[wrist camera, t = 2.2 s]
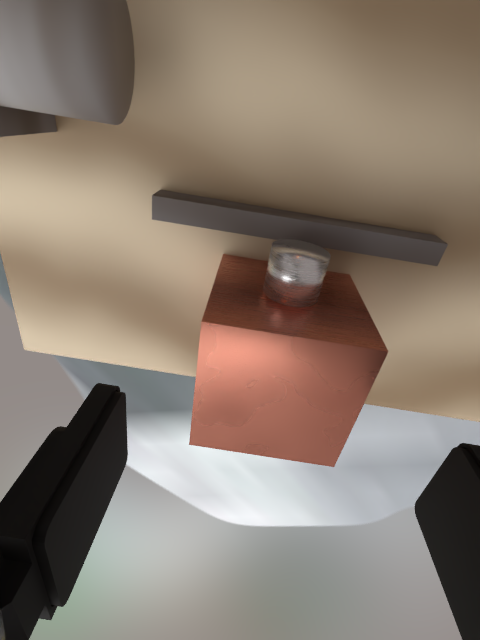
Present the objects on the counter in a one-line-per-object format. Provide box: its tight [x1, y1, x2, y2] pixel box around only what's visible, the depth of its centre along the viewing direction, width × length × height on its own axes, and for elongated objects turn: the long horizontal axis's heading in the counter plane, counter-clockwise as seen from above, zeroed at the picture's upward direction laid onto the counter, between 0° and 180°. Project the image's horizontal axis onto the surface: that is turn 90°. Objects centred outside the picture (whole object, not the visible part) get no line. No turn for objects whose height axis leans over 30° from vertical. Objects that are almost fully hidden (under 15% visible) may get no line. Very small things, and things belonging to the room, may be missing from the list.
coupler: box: [189, 239, 388, 467], centre depth 12 cm, size 5×8×5 cm, turn 172°
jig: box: [0, 0, 480, 422], centre depth 11 cm, size 18×23×5 cm
